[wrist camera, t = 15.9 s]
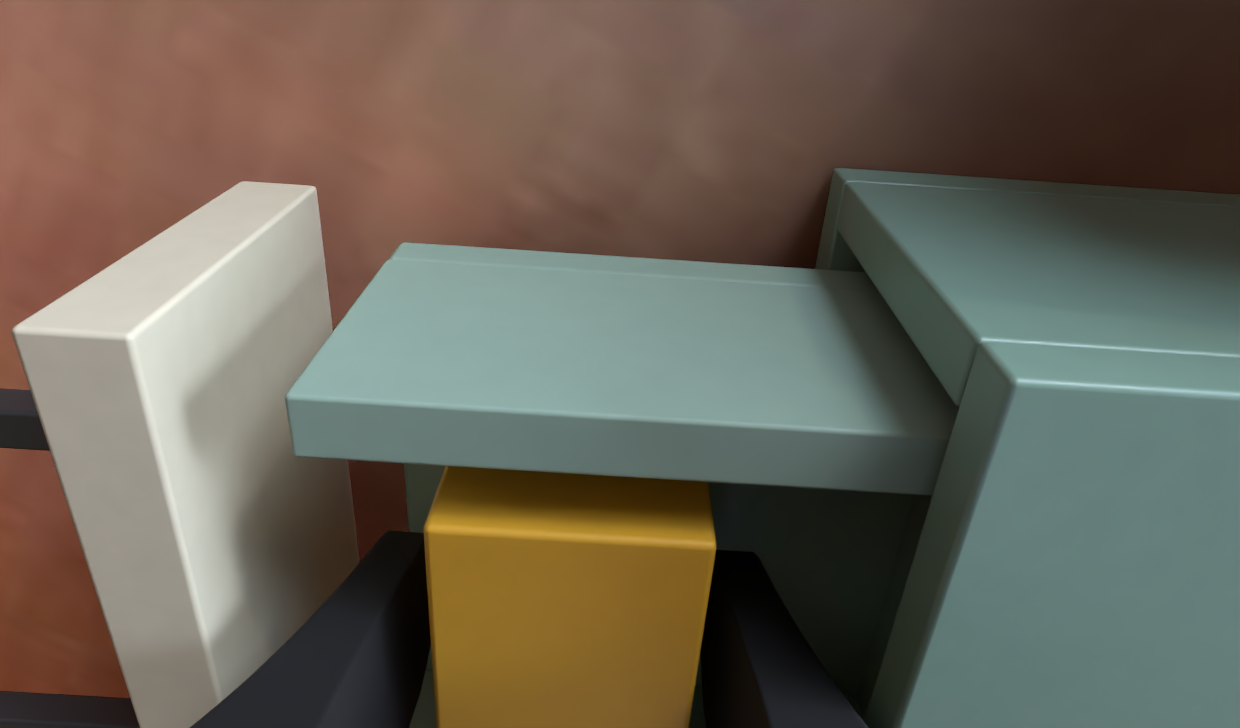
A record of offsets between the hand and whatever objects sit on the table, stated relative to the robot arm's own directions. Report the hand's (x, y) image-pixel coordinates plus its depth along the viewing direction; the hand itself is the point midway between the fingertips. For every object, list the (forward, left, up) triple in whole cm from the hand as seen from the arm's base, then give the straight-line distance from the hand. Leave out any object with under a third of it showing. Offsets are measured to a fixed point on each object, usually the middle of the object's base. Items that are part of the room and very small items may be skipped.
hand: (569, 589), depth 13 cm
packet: (0, 0, -2) cm, 2 cm away
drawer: (0, +2, -3) cm, 4 cm away
